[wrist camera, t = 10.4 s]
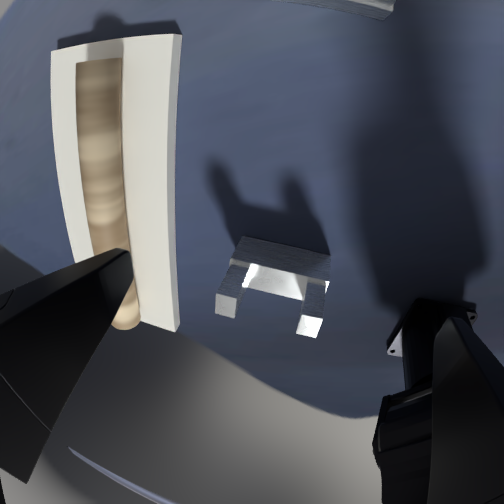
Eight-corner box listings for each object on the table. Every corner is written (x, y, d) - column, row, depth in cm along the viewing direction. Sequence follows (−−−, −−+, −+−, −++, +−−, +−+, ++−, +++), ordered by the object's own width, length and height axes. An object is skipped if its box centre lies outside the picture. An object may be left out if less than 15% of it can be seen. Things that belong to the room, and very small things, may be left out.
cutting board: (179, 323, 30) (175, 332, 29) (91, 293, 31) (86, 299, 30) (182, 35, 15) (173, 33, 14) (62, 50, 17) (51, 51, 16)
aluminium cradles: (323, 277, 23) (317, 340, 18) (240, 257, 23) (212, 314, 18) (386, -8, 11) (410, -41, 6) (275, -27, 12) (248, -66, 7)
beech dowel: (137, 304, 29) (143, 326, 27) (108, 309, 28) (112, 332, 25) (120, 58, 16) (122, 57, 14) (78, 62, 15) (73, 63, 13)
